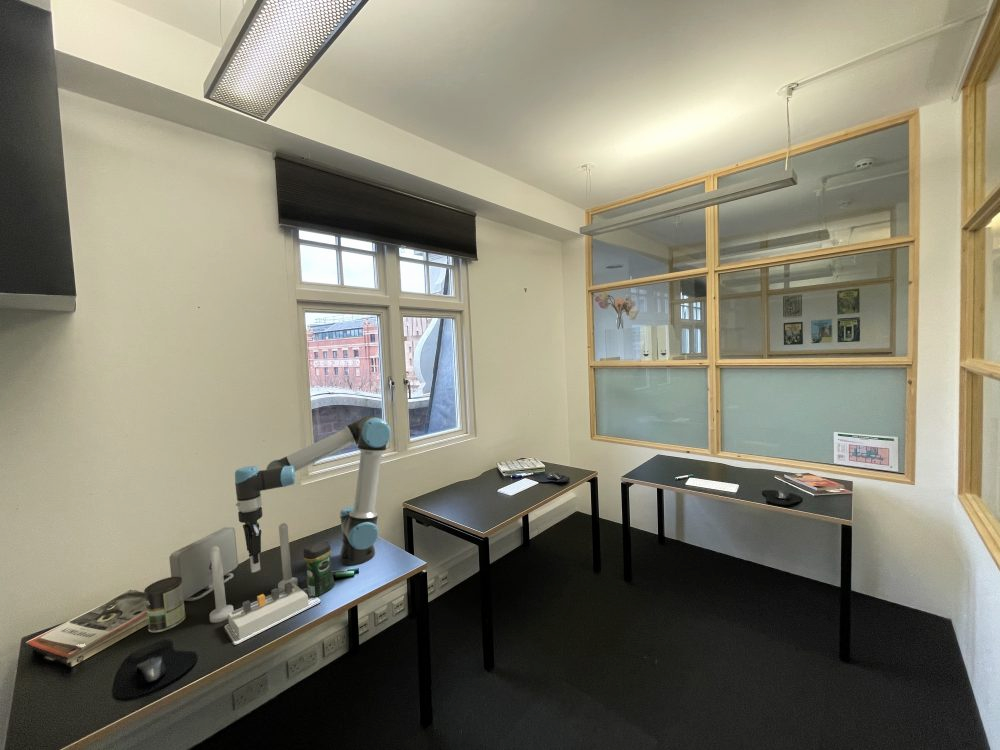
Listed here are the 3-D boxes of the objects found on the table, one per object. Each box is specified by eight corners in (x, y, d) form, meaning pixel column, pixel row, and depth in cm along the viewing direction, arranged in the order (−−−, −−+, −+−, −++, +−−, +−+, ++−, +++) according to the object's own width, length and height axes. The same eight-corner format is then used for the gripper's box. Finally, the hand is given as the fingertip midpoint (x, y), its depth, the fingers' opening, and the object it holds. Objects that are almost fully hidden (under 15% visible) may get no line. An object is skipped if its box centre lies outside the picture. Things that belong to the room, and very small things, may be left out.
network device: (187, 606, 151) (181, 555, 150) (168, 605, 153) (163, 554, 152) (243, 570, 176) (238, 526, 175) (226, 569, 178) (222, 525, 177)
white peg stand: (236, 608, 148) (229, 539, 147) (230, 619, 142) (223, 547, 140) (213, 613, 146) (206, 543, 145) (207, 625, 139) (199, 551, 138)
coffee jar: (325, 581, 163) (322, 536, 162) (337, 586, 158) (334, 540, 157) (303, 594, 154) (299, 547, 154) (315, 599, 150) (310, 551, 149)
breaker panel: (295, 594, 155) (294, 583, 155) (308, 605, 147) (307, 594, 146) (229, 624, 138) (227, 612, 138) (239, 639, 130) (238, 626, 130)
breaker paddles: (292, 590, 149) (292, 581, 149) (295, 592, 148) (294, 582, 148) (240, 613, 137) (239, 603, 137) (242, 616, 135) (241, 606, 135)
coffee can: (146, 637, 135) (142, 596, 134) (149, 622, 143) (145, 584, 142) (185, 623, 141) (181, 584, 140) (186, 610, 149) (182, 573, 148)
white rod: (298, 580, 165) (293, 518, 163) (296, 589, 158) (291, 524, 157) (279, 584, 162) (274, 522, 161) (276, 594, 156) (271, 528, 154)
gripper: (233, 508, 151) (239, 569, 152) (244, 516, 142) (250, 580, 143) (255, 502, 156) (260, 561, 157) (267, 509, 147) (273, 571, 148)
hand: (255, 570), depth 150 cm, fingers closed
